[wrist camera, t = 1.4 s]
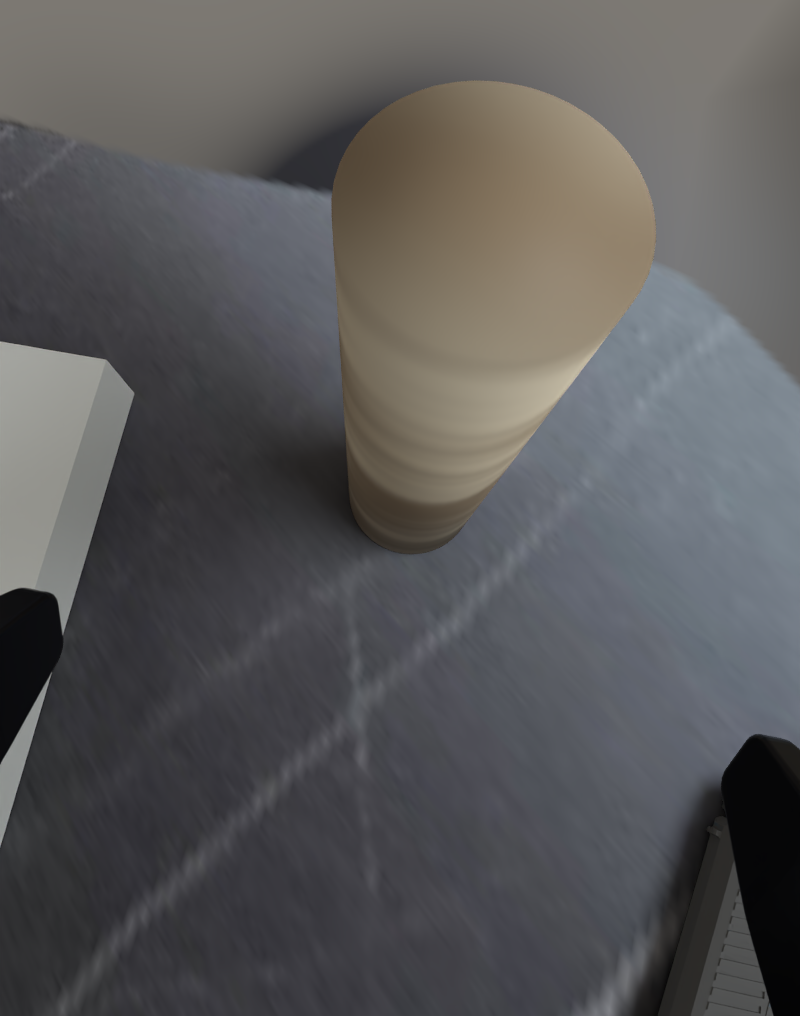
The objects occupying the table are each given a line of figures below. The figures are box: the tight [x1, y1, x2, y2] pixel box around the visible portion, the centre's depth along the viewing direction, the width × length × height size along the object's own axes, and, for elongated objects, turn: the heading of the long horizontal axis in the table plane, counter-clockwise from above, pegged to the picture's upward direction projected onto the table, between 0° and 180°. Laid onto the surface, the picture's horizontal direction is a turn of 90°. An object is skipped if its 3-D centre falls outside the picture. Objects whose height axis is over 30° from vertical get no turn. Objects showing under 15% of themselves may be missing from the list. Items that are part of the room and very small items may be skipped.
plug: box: [332, 81, 656, 554], centre depth 15 cm, size 4×4×14 cm
